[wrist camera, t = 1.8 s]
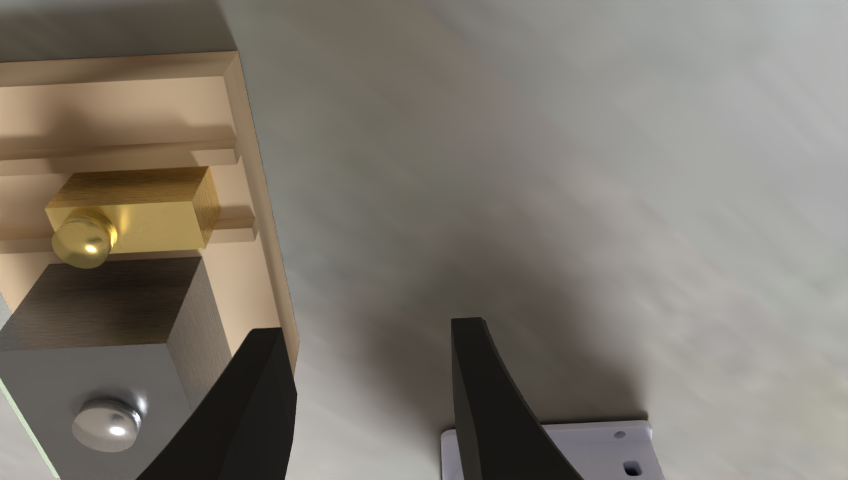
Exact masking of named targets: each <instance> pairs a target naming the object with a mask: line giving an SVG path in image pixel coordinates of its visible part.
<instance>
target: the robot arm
mask: <svg viewBox="0 0 848 480" xmlns="http://www.w3.org/2000/svg"><path fill="white" fill-rule="evenodd" d="M451 338H452V378H453V398H454V412H455V426H456V429H452V430H447V431H445V432H443V434H442V435H441V455H442V478H443V480H665V478H664V476H663V473H662V470H661V467H660V465H659V462H658V459H657V457H656V454H655V451H654V449H653V446H652V443H651V438H652V434H653V429H652V426H651V424H650V423H649V422H648V421H645V420H634V421H614V422H593V423H573V424H553V425H541V424H540V422H539V421H538V419H537V418H536V416H535V415H534V413H533V412H532V410H531V409H530V407H529V406H528V404H527V403H526V401H525V400H524V398H523V396H522V395H521V393H520V391H519V389H518V388H517V386H516V384H515V383H514V381H513V379H512V378H511V376H510V374H509V372H508V370H507V369H506V367H505V365H504V363H503V361H502V359H501V357H500V355H499V353H498V351H497V349H496V347H495V345H494V342H493V340H492V338H491V335H490V333H489V330H488V327H487V324H486V321H485V320H483V319H482V318H481V317H475V318H454V319H451ZM296 403H297V391H296V387H295V382H294V378H293V374H292V369H291V365H290V361H289V356H288V352H287V347H286V343H285V339H284V334H283V330H282V327H274V328H254V329H252V330H251V331H250V332H249V333H248V334H247V336H246V337H245V339H244V340H243V342H242V344H241V345H240V347H239V348H238V350H237V351H236V353H235V354H234V356H233V357H232V359H231V360H230V362H229V363H228V365H227V366H226V368H225V369H224V371H223V372H222V373H221V375H220V376H219V378H218V379H217V381H216V382H215V383H214V385H213V386H212V388H211V389H210V390H209V392H208V393H207V394H206V396H205V397H204V399H203V400H202V401H201V403H200V404H199V405H198V407H197V408H196V409H195V411H194V412H193V413H192V415H191V416H190V417H189V418H188V419H187V421H186V422H185V423H184V424H183V426H182V427H181V428H180V429H179V431H178V432H177V433H176V434H175V435H174V437H173V438H172V439H171V440H170V442H169V443H168V444H167V445H166V446H165V448H164V449H163V450H162V451H161V452H160V453H159V454H158V456H157V457H156V458H155V459H154V460H153V461H152V462H151V463H150V464H149V466H148V467H147V468H146V469H145V470H144V471H143V472H142V473H141V474H140V475H139V476H138V477H137V478H136V479H135V480H285V476H286V471H287V466H288V462H289V457H290V452H291V447H292V442H293V435H294V425H295V415H296Z"/></svg>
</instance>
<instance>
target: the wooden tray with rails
mask: <svg viewBox="0 0 848 480" xmlns="http://www.w3.org/2000/svg"><path fill="white" fill-rule="evenodd" d="M197 166H210V169H211V173H212V177H213V181H214V185H215V188H216V192H217V196H218V200H219V204H220V207H221V213H220V215H219V218H218V220H217V223H216V225H215V227H214V230H213V232H212V235H211V237H210V239H209V242H208V244H207V247H206V249H193V250H173V251H153V252H133V253H113V254H108V256H107V258H106V259H105V261H120V260H140V259H160V258H180V257H200V256H202V257H203V261H204V264H205V267H206V271H207V274H208V277H209V281H210V284H211V287H212V291H213V294H214V298H215V301H216V304H217V308H218V311H219V314H220V318H221V321H222V324H223V328H224V331H225V335H226V338H227V341H228V345H229V348H230V351H231V355H232V357H233V356H234V354H235V353H236V351H237V350H238V348H239V347H240V345H241V344H242V342H243V340H244V339H245V337H246V336H247V334H248V333H249V332H250V331H251V330H252V329H254V328H274V327H282V330H283V334H284V339H285V343H286V347H287V352H288V356H289V361H290V365H291V369H292V374H293V378H294V372H295V367H296V361H297V356H298V350H299V345H300V342H299V338H298V333H297V328H296V323H295V319H294V314H293V309H292V304H291V300H290V295H289V290H288V285H287V281H286V276H285V271H284V266H283V262H282V257H281V252H280V247H279V243H278V238H277V233H276V228H275V223H274V219H273V214H272V209H271V204H270V200H269V195H268V190H267V185H266V181H265V176H264V171H263V166H262V162H261V157H260V152H259V147H258V143H257V138H256V133H255V128H254V124H253V119H252V114H251V109H250V105H249V100H248V95H247V90H246V86H245V81H244V76H243V71H242V67H241V62H240V57H239V52H238V51H223V52H204V53H184V54H164V55H145V56H125V57H106V58H86V59H66V60H47V61H27V62H8V63H0V292H1V293H2V295H3V297H4V299H5V301H6V303H7V304H8V306H9V308H10V310H11V312H12V314H13V313H14V311H15V310H16V309H17V307H18V306H19V304H20V303H21V302H22V300H23V299H24V297H25V296H26V295H27V293H28V292H29V291H30V289H31V288H32V286H33V285H34V284H35V282H36V281H37V280H38V278H39V277H40V275H41V274H42V273H43V271H44V270H45V268H46V267H47V266H48V264H60V263H66V262H64V261H63V260H62V259H61V258H59V257H58V255H57V254H56V253H55V251H54V249H53V247H52V237H53V235H54V233H55V231H54V229H53V227H52V225H51V222H50V220H49V218H48V216H47V213H46V211H45V209H44V208H45V207H46V206H47V205H48V204H49V202H50V201H51V200H52V199H53V197H54V196H55V195H56V194H57V193H58V191H59V190H60V189H61V188H62V187H63V185H64V184H65V183H66V182H67V181H68V179H69V178H70V177H71V176H72V174H73V173H79V172H98V171H118V170H138V169H158V168H177V167H197Z"/></svg>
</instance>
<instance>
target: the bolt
mask: <svg viewBox="0 0 848 480" xmlns="http://www.w3.org/2000/svg"><path fill="white" fill-rule="evenodd" d="M44 209H45V211H46V213H47V216H48V218H49V220H50V222H51V225H52V227H53V229H54V231H55V233H54V235H53V237H52V247H53V249H54V251H55V253H56V254H57V255H58V257H59V258H61V259H62V260H63V261H64V262H66V263H68V264H70V265H72V266H74V267H78V268H84V269H89V268H95V267H98V266H99V265H101V264H102V263H103V262H104V261H105V259H106V258H107V256H108V254H113V253H133V252H153V251H173V250H193V249H206V247H207V244H208V242H209V239H210V237H211V235H212V232H213V230H214V227H215V225H216V223H217V220H218V218H219V215H220V213H221V207H220V204H219V200H218V196H217V192H216V188H215V185H214V181H213V177H212V173H211V169H210V166H197V167H177V168H158V169H138V170H118V171H98V172H79V173H73V174H72V176H71V177H70V178H69V179H68V181H67V182H66V183H65V184H64V185H63V187H62V188H61V189H60V190H59V191H58V193H57V194H56V195H55V196H54V197H53V199H52V200H51V201H50V202H49V204H48V205H47V206H46V207H45V208H44Z"/></svg>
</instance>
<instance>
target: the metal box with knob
mask: <svg viewBox="0 0 848 480" xmlns="http://www.w3.org/2000/svg"><path fill="white" fill-rule="evenodd" d="M231 359H232V355H231V351H230V348H229V345H228V341H227V338H226V335H225V331H224V328H223V324H222V321H221V318H220V314H219V311H218V308H217V304H216V301H215V298H214V294H213V291H212V287H211V284H210V281H209V277H208V274H207V271H206V267H205V264H204V261H203V257H202V256H200V257H180V258H160V259H140V260H120V261H104V262H103V263H102V264H101V265H99V266H98V267H95V268H89V269H84V268H78V267H74V266H72V265H70V264H68V263H60V264H48V266H47V267H46V268H45V270H44V271H43V273H42V274H41V275H40V277H39V278H38V280H37V281H36V282H35V284H34V285H33V286H32V288H31V289H30V291H29V292H28V293H27V295H26V296H25V297H24V299H23V300H22V302H21V303H20V304H19V306H18V307H17V309H16V310H15V311H14V313H13V314H12V315H11V317H10V318H9V320H8V321H7V322H6V324H5V325H4V326H3V328H2V329H1V331H0V379H1V380H2V382H3V384H4V385H5V387H6V389H7V390H8V392H9V394H10V395H11V397H12V399H13V400H14V402H15V404H16V405H17V407H18V409H19V410H20V412H21V414H22V415H23V417H24V419H25V420H26V422H27V424H28V425H29V427H30V429H31V430H32V432H33V434H34V435H35V437H36V439H37V440H38V442H39V444H40V445H41V447H42V449H43V450H44V452H45V454H46V455H47V457H48V459H49V460H50V462H51V464H52V465H53V467H54V469H55V470H56V472H57V474H58V475H59V477H60V479H61V480H135V479H136V478H137V477H138V476H139V475H140V474H141V473H142V472H143V471H144V470H145V469H146V468H147V467H148V466H149V464H150V463H151V462H152V461H153V460H154V459H155V458H156V457H157V456H158V454H159V453H160V452H161V451H162V450H163V449H164V448H165V446H166V445H167V444H168V443H169V442H170V440H171V439H172V438H173V437H174V435H175V434H176V433H177V432H178V431H179V429H180V428H181V427H182V426H183V424H184V423H185V422H186V421H187V419H188V418H189V417H190V416H191V415H192V413H193V412H194V411H195V409H196V408H197V407H198V405H199V404H200V403H201V401H202V400H203V399H204V397H205V396H206V394H207V393H208V392H209V390H210V389H211V388H212V386H213V385H214V383H215V382H216V381H217V379H218V378H219V376H220V375H221V373H222V372H223V371H224V369H225V368H226V366H227V365H228V363H229V362H230V360H231Z"/></svg>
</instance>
